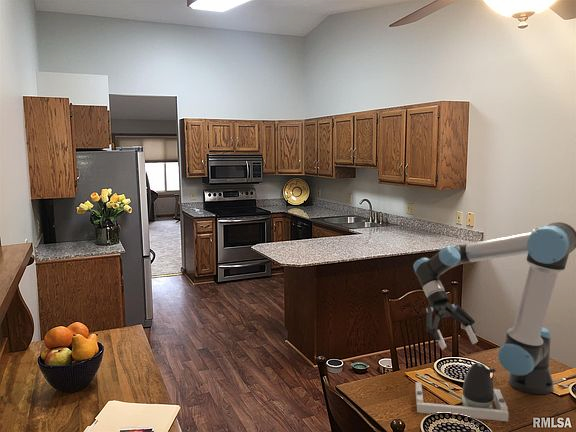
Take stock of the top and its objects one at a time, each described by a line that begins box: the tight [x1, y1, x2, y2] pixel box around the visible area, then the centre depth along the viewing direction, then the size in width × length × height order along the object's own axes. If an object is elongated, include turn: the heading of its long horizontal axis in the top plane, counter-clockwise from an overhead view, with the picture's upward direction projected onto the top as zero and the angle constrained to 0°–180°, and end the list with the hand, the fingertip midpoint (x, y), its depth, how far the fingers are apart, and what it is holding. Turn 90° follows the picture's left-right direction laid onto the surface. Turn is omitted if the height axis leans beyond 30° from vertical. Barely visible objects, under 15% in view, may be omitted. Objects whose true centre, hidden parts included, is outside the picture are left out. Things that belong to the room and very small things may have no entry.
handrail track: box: [415, 381, 510, 422], centre depth 162 cm, size 29×14×5 cm, turn 77°
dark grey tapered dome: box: [462, 362, 496, 408], centre depth 161 cm, size 10×10×15 cm
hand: (460, 345), depth 169 cm, fingers open, 13 cm apart
